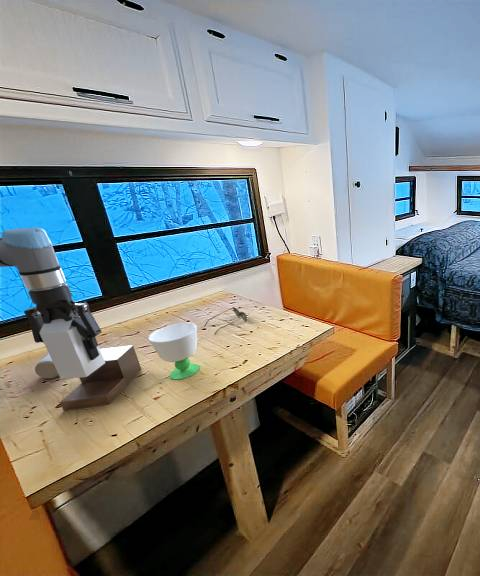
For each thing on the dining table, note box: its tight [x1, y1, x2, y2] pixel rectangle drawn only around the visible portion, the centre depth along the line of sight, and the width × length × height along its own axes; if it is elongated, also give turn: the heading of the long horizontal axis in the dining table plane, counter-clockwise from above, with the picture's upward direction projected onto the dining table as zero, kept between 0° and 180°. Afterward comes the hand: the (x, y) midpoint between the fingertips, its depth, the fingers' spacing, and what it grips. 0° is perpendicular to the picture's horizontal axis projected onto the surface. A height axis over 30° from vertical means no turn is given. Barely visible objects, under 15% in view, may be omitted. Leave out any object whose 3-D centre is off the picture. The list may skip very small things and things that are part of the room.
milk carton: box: [40, 313, 105, 380], centre depth 88 cm, size 7×7×19 cm
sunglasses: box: [204, 306, 248, 335], centre depth 140 cm, size 14×15×5 cm
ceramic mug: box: [34, 352, 60, 379], centre depth 107 cm, size 11×8×8 cm
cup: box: [148, 322, 201, 381], centre depth 104 cm, size 14×14×16 cm
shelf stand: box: [59, 344, 142, 411], centre depth 97 cm, size 12×18×10 cm, turn 11°
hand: (79, 359), depth 90 cm, fingers closed on milk carton, 7 cm apart
